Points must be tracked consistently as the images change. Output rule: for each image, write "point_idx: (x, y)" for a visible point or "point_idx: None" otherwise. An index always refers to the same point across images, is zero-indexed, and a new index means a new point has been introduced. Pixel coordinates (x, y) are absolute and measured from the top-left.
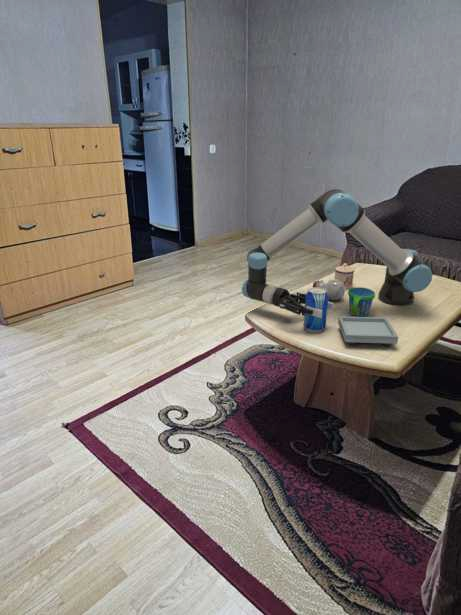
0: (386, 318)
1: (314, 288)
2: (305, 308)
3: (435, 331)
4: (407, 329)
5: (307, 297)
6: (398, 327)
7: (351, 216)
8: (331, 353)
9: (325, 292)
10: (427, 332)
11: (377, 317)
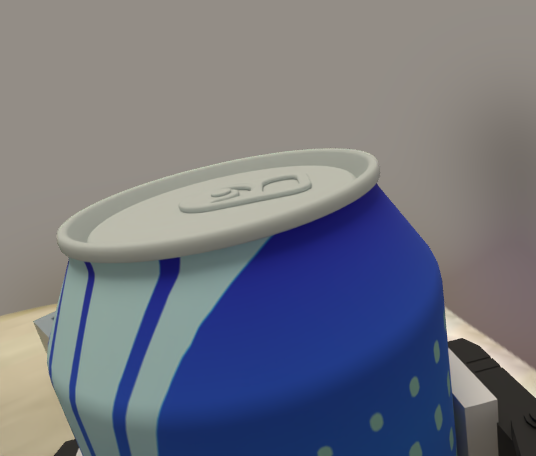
0: (44, 316)
1: (114, 261)
2: (507, 419)
3: (7, 315)
4: (18, 349)
5: (438, 281)
6: (6, 369)
7: None
8: (478, 334)
9: (217, 167)
10: (25, 318)
11: (45, 334)
